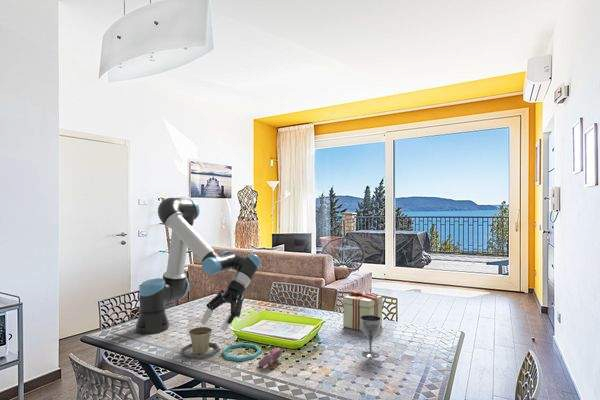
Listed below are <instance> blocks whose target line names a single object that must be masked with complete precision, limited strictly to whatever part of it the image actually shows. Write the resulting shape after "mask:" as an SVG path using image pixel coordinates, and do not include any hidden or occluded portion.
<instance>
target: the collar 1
mask: <svg viewBox="0 0 600 400" xmlns="http://www.w3.org/2000/svg"><path fill="white" fill-rule="evenodd" d="M209 347H214V348H215V350H213V351H211V352H210V353H204V354H195V355H194V354H189V353H185V351H187V350H189V349H190V348H192V343H189V344H186V346H184V347H182V348H181V349H180V350H181V351H180V353H181V355H182V357H183V359H185V358H186V359H190V360H202V359H207V358H213V357H214V356H215V355H216V354H218V353H220V350H221V349H220V346H219V345H218V343H217V342H210V341H209Z"/></svg>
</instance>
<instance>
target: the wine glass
mask: <svg viewBox="0 0 600 400" xmlns="http://www.w3.org/2000/svg"><path fill="white" fill-rule="evenodd" d="M380 323H381V319H380V317H378V316H375V315H363V316H361V328H362V331H361V332H362V333H363V334H364V336H366V338H367V340H368V343H369V344H368V345H369V350H364V351H363V352H361V355H362V357H364V358H366V359H367V358H368V359H376V358H377V359H378V358H379V357H380V353H378V352H377V351H375V350H372V347H373V341H374V339H375V337H376V336H377V335H378V334H379V333H380V329H381V326H380Z"/></svg>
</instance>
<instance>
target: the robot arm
mask: <svg viewBox="0 0 600 400" xmlns="http://www.w3.org/2000/svg"><path fill="white" fill-rule="evenodd" d="M200 213H201V212H200V205H199V204H198V202H197V201H196V200H195V199H193V198H189V197H167V198H165V199H163V200H162V201H161V202H160V203H159V205H158V206H157V215H158V217H159V220H160V221H161V223H162V224H163V225H164V226H165V227H166V228H167V229H170V230H171V236H170V243H169V250H168V256H167V257H168V258H167V266H166V270H165V272H163V275H162V277H159V278H156V277H155V278H151V279H147V280H145V281H143V282H141V284H140V285H139V291H138V293H139V314H138V319H137V321H136V324H135V332H136V333H138V334H142V335H143V334H144V335H150V334H158V333H162V332H164V331H166V330H168V329H169V327H170V322H169V319H168V315H167V313H166V304H168V303H171V302H175V301H178V300H180V299H182V298H184V297H185V296H186V295H187V294H188V293H189V290H190V282H189V279H188V277H187V274H186V273H185V266H186V260H187V251H188V249H189V250H190V252H192V254H193V255H194V256H195V257H197V259H198V260H199V261H200V262H201V263H202V264H201V268H202V272H203V273H205V274H206V275H209V276H213V275H217V274H220V273H222V272H226V271H231V270H233V271H236V273H235V274H234V276H233V277H232V280H231V281H230V283H228V285H227V290H226V291H224V290H223V289H221V290H220V291H219V293H218V294H217V295H216V296H214V297H213V298H212V299H211V300H210V301H208V303H207V304H205V306H206V308H207V309H206V311H205V313H204V314H203V316H202V317H201V319H200V321H199V322H200V323H202V325H204V326H205V325H206V324H207V322H208V320H209V319H210V317H211V316H212V315H213V313H214V310H216V309H217V308H219V307H220V306H222V305H223V304H230V313H229V314H228V315H227V316H226V318H225V320H224V321H223V323H222V325H221V326H220V329H221V330H222V331H223V332H226V331H227V329H228V328H229V326H230V325H231V324H232V323H233V321H234V319H235V318H240V317H241V313H242V307H243V302H244V300H245V296H244V295H243V294H244V292H245V291H246V288H247V287H248V286H249V284H250V282H251V281H252V279H253V277H254V276H255V274H256V273H257V271H258V270H259V268H260V266H261V265H262V260H261V258H260V257H259V256H258V255H257V254H254V253H248V255H246V256H243V255H241V254H237V253H235V252H233V251H228V250H223V251H222V253H220V254H218V252H216V251H215V250H214V249H213V248H212V246H210V244H208V242H206V241H205V239H204V238H203V237H202V236H201V234H199V232H198V231H196V230H195V229H194V228H193V226H194V223H195V222H194V221H195V220H196V219H197V218H198V217H199V216H200Z"/></svg>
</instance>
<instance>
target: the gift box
mask: <svg viewBox="0 0 600 400" xmlns="http://www.w3.org/2000/svg"><path fill="white" fill-rule="evenodd" d="M348 293H349V294H348V295H346V296H343V297H342V304H343V308H342V309H343V312H342V313H343V319H342V320H343V321H342V322H343V324H342V325H343V328H347V329H352V330H356V331H360V332H363V331H362V328H361V316H363V315H375V316H378V317H380V319H381V323H380V327H382V326H383V305H382V304H383V302H384V298H383V295H380V294H379V295H378V294H376V293H374V292H367V293H365V292H361V291H359V290H356V289H352V290H350V291H348Z"/></svg>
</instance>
